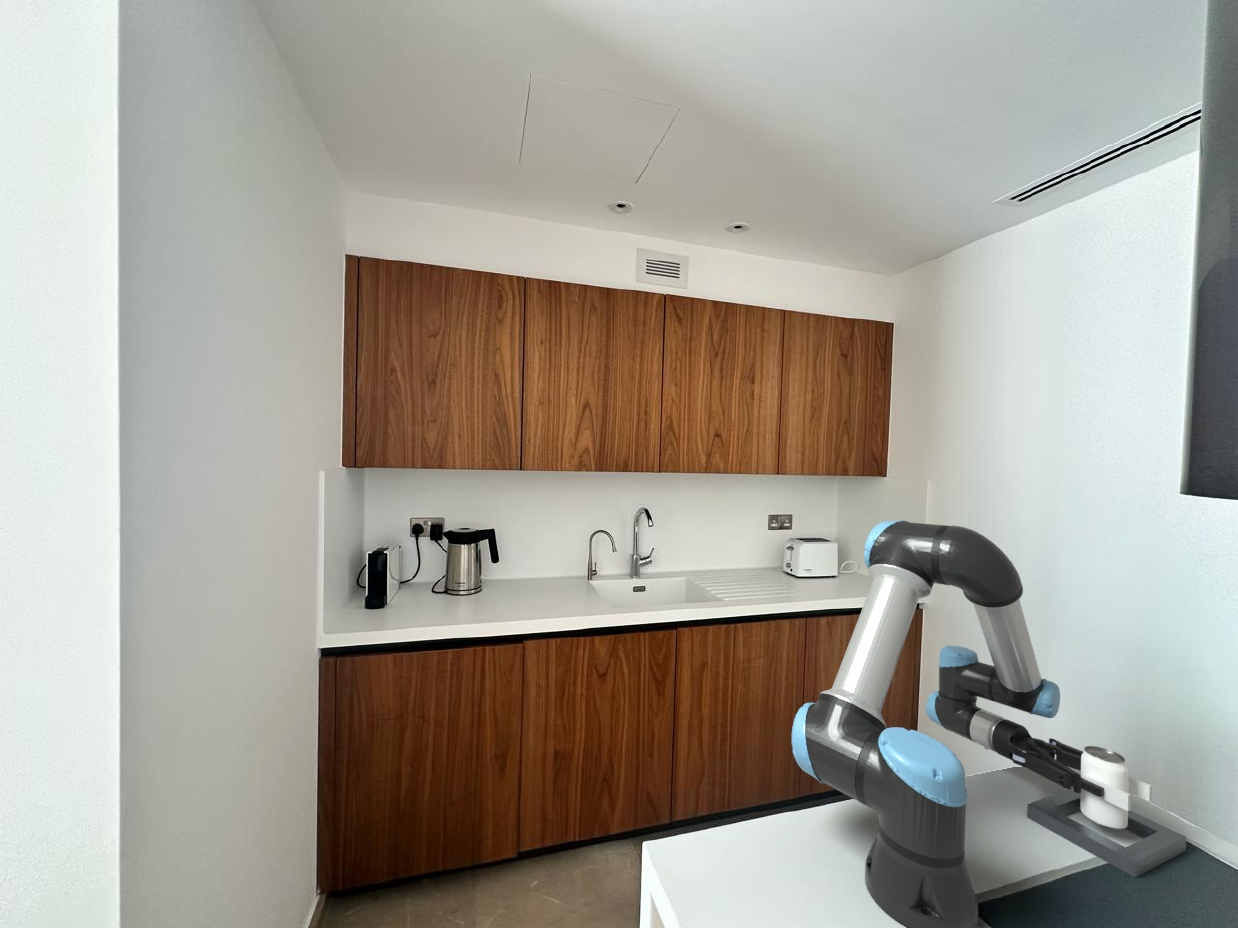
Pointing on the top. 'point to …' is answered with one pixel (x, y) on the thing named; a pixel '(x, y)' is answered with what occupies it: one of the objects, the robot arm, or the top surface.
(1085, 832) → the jig
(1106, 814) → the can
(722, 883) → the top surface
